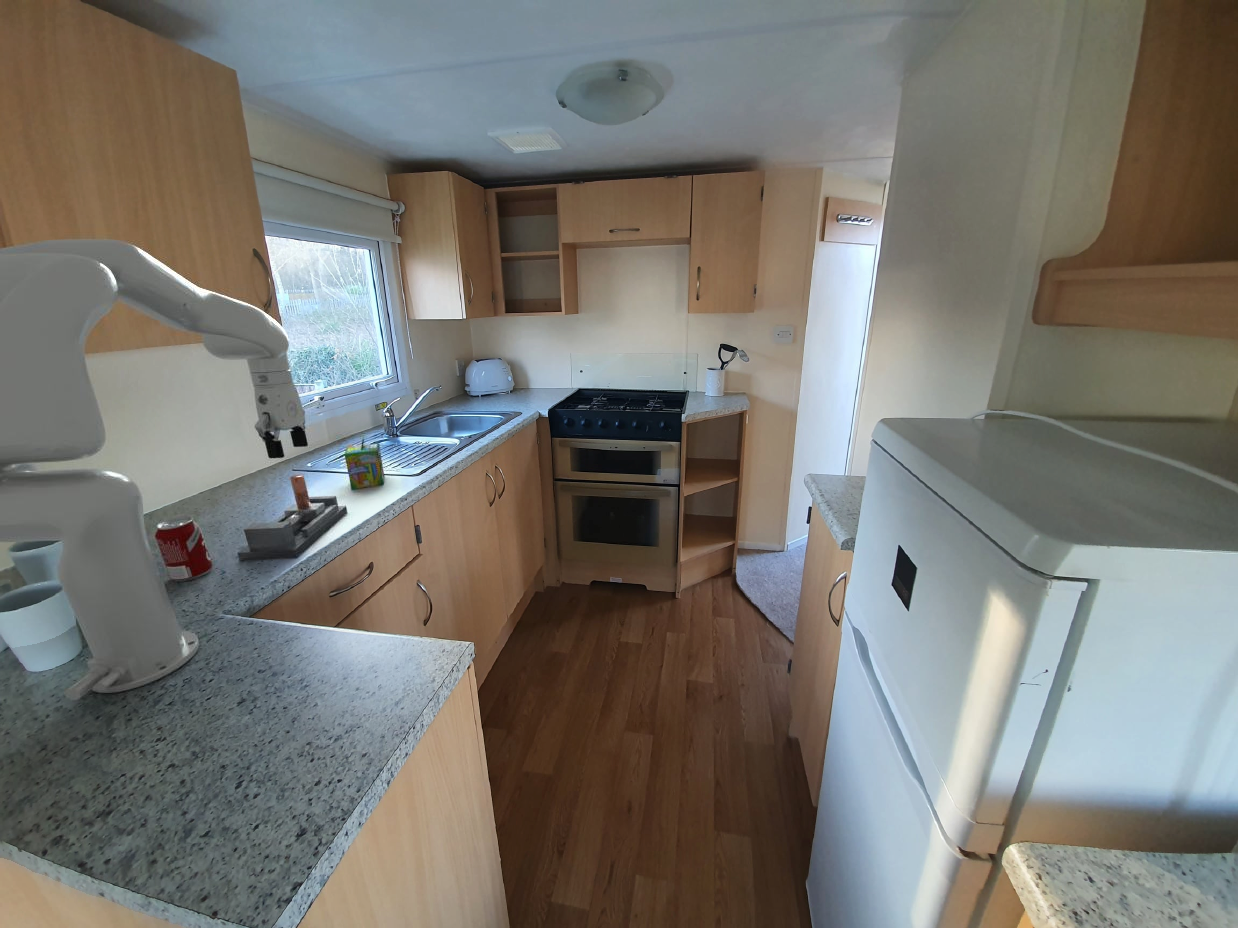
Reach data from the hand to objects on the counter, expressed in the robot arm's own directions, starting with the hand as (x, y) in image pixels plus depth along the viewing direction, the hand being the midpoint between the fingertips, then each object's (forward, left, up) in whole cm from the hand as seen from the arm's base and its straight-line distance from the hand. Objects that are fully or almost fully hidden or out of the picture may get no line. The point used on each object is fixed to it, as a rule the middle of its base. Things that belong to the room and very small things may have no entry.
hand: (289, 451), depth 114 cm
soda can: (-21, +12, -20) cm, 31 cm away
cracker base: (-4, 0, -20) cm, 20 cm away
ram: (-2, 0, -17) cm, 18 cm away
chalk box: (+31, -2, -20) cm, 37 cm away
